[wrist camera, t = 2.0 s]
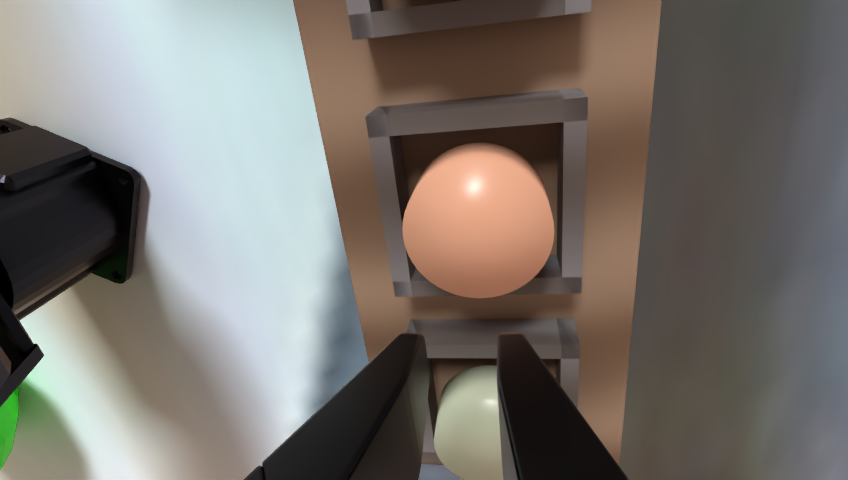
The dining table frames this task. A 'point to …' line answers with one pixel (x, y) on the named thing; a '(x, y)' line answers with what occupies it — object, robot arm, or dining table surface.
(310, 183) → the dining table surface
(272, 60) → the dining table surface
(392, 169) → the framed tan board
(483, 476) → the button sage
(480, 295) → the button terracotta
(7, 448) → the plastic bottle
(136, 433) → the dining table surface
